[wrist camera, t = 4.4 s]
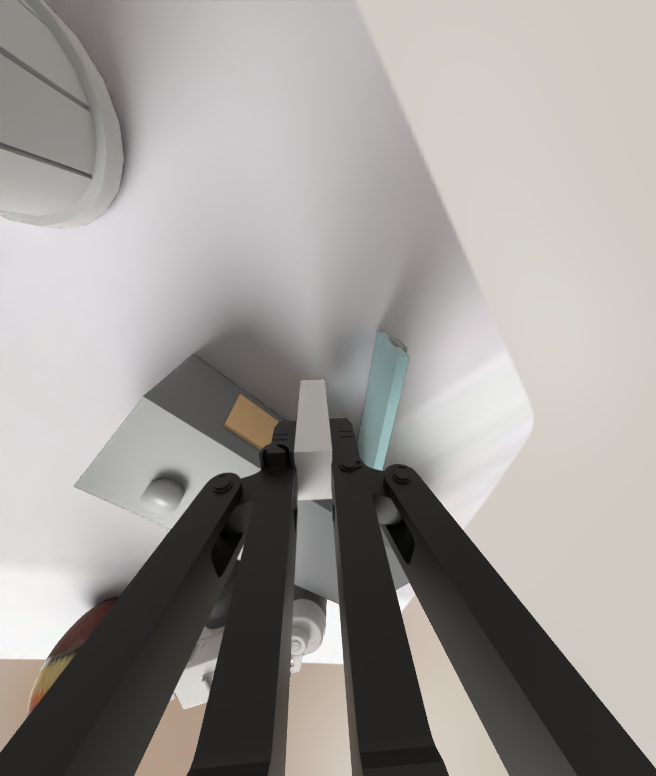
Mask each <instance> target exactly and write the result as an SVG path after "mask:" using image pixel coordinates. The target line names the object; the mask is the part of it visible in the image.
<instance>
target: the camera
mask: <svg viewBox="0 0 656 776" xmlns="http://www.w3.org/2000/svg"><path fill="white" fill-rule="evenodd" d="M239 563H240V560H238V559H237V560H236V562H235V564H234V566H233V568H232V570H231V572H230V575H229V577H228V579H227V581H226V583H225V585H224V587H223V589H222V591H221V593H220V596H219V598H218V600H217V602H216V604H215V606H214V608H213V610H212V612H211V615H210V617H209V619H208V621H207V623H206V625H205V627H204V629H203V631H202V633H201V636H200V638H199V640H198V642H197V644H196V646H195V648H194V650H193V652H192V655H191V657H190V659H189V661H188V663H187V665H186V667H185V669H184V671H183V673H182V676H181V678H180V680H179V682H178V684H177V686H176V688H175V690H174V692H173V695H172V697H171V699H170V700H173V699H174V698H175V696H176V695H177V696H178V698H179V700H180V703H181V705H182V707H183V708H184V709H187V708H190V707H193V706H196V705H200V704H203V703H206V702H207V701H208V697H209V693H210V688H211V684H212V680H213V675H214V671H215V667H216V662H217V658H218V654H219V650H220V645H221V641H222V637H223V632H224V628H225V624H226V619H227V615H228V611H229V606H230V602H231V598H232V593H233V589H234V585H235V580H236V576H237V572H238V568H239ZM326 603H327V599H326V598H324V597H322V596H319V595H317V594H315V593H313V592H310V591H308V590H306V589H304V588H301V587H299V586H297V585H295V584H294V602H293V622H292V641H291V660H292V659H293V663H294V665H293V666H291V665H290V674H291V673H294V672H298V671H300V669H301V663H302V657H303V656H304V655H307V654H309V653H312V652H314V651H315V650H317V649H318V648H319V646H320V645H321V643H322V640H323V636H324V634H325V627H326ZM290 662H291V661H290Z"/></svg>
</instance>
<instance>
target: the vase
mask: <svg viewBox="0 0 656 776" xmlns="http://www.w3.org/2000/svg"><path fill="white" fill-rule="evenodd" d="M117 599H118V598H114V599H110V600H107V601H104V602H102V603H100V604H98V605H97V606H95V607H94V608H92V609H91V610H89V611H88V612H87V613H85V614H84V615H83V616H82V617H81V618H80V619H79V620H78V621H77V622H76V623H75V624H74V625H73V626H72V627H71V628H70V629H69V630H68V631H67V632H66V634H65V635H64V636H63V637H62V638H61V639H60V641H59V642H58V643H57V645H56V646H55V647H54V649H53V650H52V652H51V653H50V654H49V656H48V658H47V659H46V661H45V663H44V664H43V666H42V668H41V670H40V672H39V674H38V676H37V679H36V681H35V683H34V686H33V689H32V692H31V695H30V699H29V704H28V715H27V717H28V716H29V714H30V713H31V712H32V711H33V709H34V708H35V707H36V705H37V704H38V703H39V701H40V700H41V699H42V697H43V696H44V695H45V694H46V692H47V691H48V690H49V688H50V687H51V686H52V684H53V683H54V682H55V681H56V679H57V678H58V677H59V675H60V674H61V673H62V671H63V670H64V669H65V667H66V666H67V665H68V664H69V662H70V661H71V660H72V658H73V657H74V656H75V654H76V653H77V652H78V650H79V649H80V648H81V647H82V645H83V644H84V643H85V641H86V640H87V639H88V637H89V636H90V635H91V633H92V632H93V631H94V630H95V628H96V627H97V626H98V624H99V623H100V622H101V620H102V619H103V618H104V616H105V615H106V614H107V613H108V611H109V610H110V609H111V607H112V606H113V605H114V603H115V602H116V601H117Z"/></svg>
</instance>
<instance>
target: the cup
mask: <svg viewBox="0 0 656 776" xmlns="http://www.w3.org/2000/svg"><path fill="white" fill-rule="evenodd" d="M123 164H124V156H123V147H122V139H121V131H120V123H119V120H118V117H117V115H116V112H115V109H114V106H113V104H112V101H111V98H110V95H109V93H108V90H107V87H106V85H105V82H104V80H103V78H102V77H101V75H100V73H99V72H98V70H97V68H96V67H95V65H94V63H93V62H92V60H91V58H90V57H89V55H88V54H87V52H86V50H85V49H84V47H83V45H82V44H81V42H80V40H79V39H78V37H77V36H76V35H75V34H74V33H73V32H72V31H71V30H70V29H69V28H68V27H67V25H66V24H65V23H64V22H63V21H62V20H61V19H60V18H59V17H58V16H57V15H56V13H55V12H54V11H53V10H52V9H51V8H50V7H49V6H48V5H47V4H46V3H45V1H44V0H0V216H2V217H4V218H6V219H8V220H11V221H16V222H21V223H26V224H31V225H36V226H41V227H50V228H68V227H75V226H82V225H86V224H88V223H89V222H91V221H93V220H94V219H96V218H97V217H99V216H100V215H102V214H104V213H105V212H106V211H107V209H108V207H109V206H110V204H111V203H112V201H113V199H114V198H115V196H116V194H117V193H118V191H119V187H120V181H121V175H122V169H123Z"/></svg>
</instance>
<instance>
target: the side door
mask: <svg viewBox="0 0 656 776" xmlns="http://www.w3.org/2000/svg"><path fill="white" fill-rule="evenodd" d="M406 352H407V347H406V346H405V345H404V344H403V343H402V342H401V341H400V340H399V339H394V338H391V337H390V336H389V335H388V334H387V333H386V332H379V331H377V334H376V340H375V346H374V352H373V357H372V363H371V369H370V375H369V381H368V387H367V393H366V398H365V404H364V410H363V416H362V422H361V428H360V433H359V439H358V445H357V448H358V452H359V456H360V459H361V460H362V461H363V463H364V464H365V465H367V466H368V467H370V468H373V469H377V470H381V471H382V470H383V466H384V462H385V457H386V453H387V449H388V445H389V441H390V437H391V432H392V428H393V424H394V420H395V416H396V412H397V407H398V403H399V399H400V395H401V391H402V387H403V382H404V378H405V374H406V370H407V366H408V362H409V356H408V355H407V354H406Z"/></svg>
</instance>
